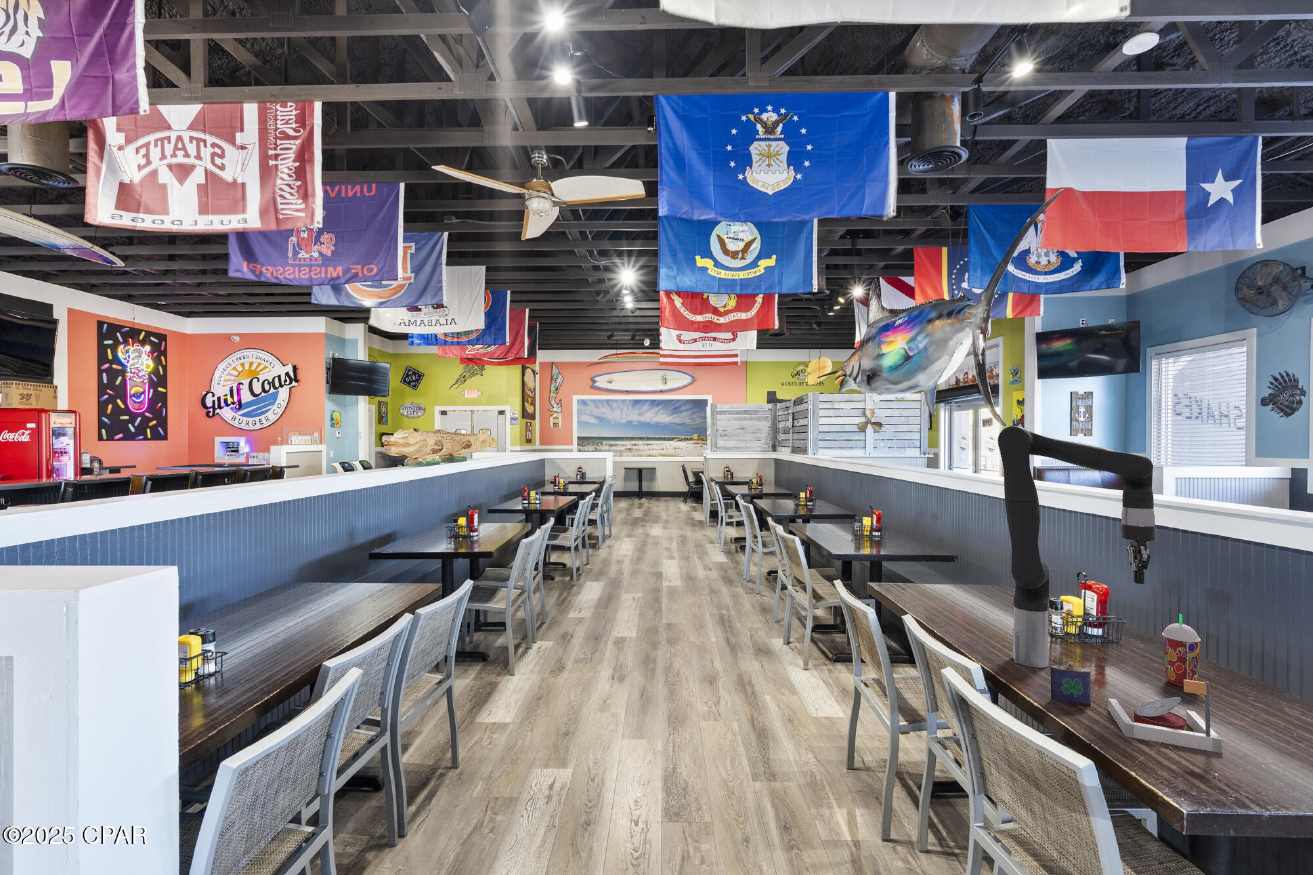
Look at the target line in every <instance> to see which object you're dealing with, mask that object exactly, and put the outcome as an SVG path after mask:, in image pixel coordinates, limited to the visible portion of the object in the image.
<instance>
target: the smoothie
mask: <svg viewBox="0 0 1313 875" xmlns="http://www.w3.org/2000/svg"><path fill="white" fill-rule="evenodd" d="M1178 618H1179V619H1178V622H1176V623H1171V624H1169V625H1167V626H1166V627H1165V629H1164V630H1163V632H1161V638H1162V645H1163V646H1162V648H1163V659H1164V668H1165V670H1164V671H1165V677H1166V678H1167V680H1168V682H1169V683H1171V684H1173V685H1175V686H1177V687H1182V688H1184V680H1191V681H1198V680H1199V679H1198V678H1199V668H1200V666H1199V665H1200V650H1201V638H1200V636H1199V635H1198V633H1197V631H1195V630H1194V628H1192V627H1190V626H1189V625H1187V624H1184V623H1183V614H1182V613H1179V614H1178Z"/></svg>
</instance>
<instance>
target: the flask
mask: <svg viewBox="0 0 1313 875" xmlns="http://www.w3.org/2000/svg"><path fill="white" fill-rule="evenodd" d="M1075 665H1076V664H1074V662H1073V661H1069V662H1068V664H1067V665H1065V666H1064V665H1059V664H1056V665H1051V666H1050V668H1049V669H1050V700H1051V701H1052V702H1055V703H1058V704H1060V703H1061V704H1064V705H1065V704H1066V705H1079V706H1091V705H1092V691H1091V690H1092V688H1091V685H1092V684H1091V683H1092V682H1091V671H1090V670H1089V669H1088V668H1078V667H1075Z"/></svg>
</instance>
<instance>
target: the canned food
mask: <svg viewBox="0 0 1313 875" xmlns="http://www.w3.org/2000/svg"><path fill="white" fill-rule="evenodd" d="M1181 702H1182V699H1181V697H1180V696H1178V697H1177V696H1173V697H1167V698H1163V699H1161V698H1160V699H1157V700H1153V701H1148V702H1145V703H1141V704H1140V705H1138V706H1136V707H1135V708H1133V722H1135V723H1141V724H1147V725H1153V726H1159V727H1166V728H1172V729H1178V730H1184V731H1188V724H1187V721H1186V718H1184V717H1182V715H1179V714H1176V713H1174V712H1172V710H1174V709H1175V707H1176V706H1177V705H1178V704H1179V703H1181Z"/></svg>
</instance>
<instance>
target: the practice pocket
mask: <svg viewBox="0 0 1313 875" xmlns="http://www.w3.org/2000/svg"><path fill="white" fill-rule="evenodd" d="M1210 685H1211V684H1210V681H1206V680H1205V681H1191V680H1184V687H1183V691H1184V693H1190V694H1197V695H1204V708H1205V711H1204V712H1205V713H1204V715H1205V716H1204V717H1205V718H1204V719H1205V720H1203V718H1202V717H1201V716H1199V714H1198V713H1197V712H1196V711H1194V710H1193V711H1192V710H1187V709H1185V716H1186V718H1185V720H1186V721H1187V726H1189V727H1190V728H1191V730H1192V731H1189V730H1187V731H1184V730H1178V729H1172V728H1166V727H1159V726H1153V725H1147V724H1141V723H1135V722H1134V721H1133V720H1131V719H1130V717H1129V716H1128V714H1127V713H1126V711H1125V710H1124V708H1123V707H1122V706H1121V704H1120V703H1119V702H1118V700H1117V699H1115V698H1110V697H1109V698H1108V699H1107V701H1108V702H1107V703H1108V704H1107V705H1108V706H1107V707H1108V708H1107V710H1108V712H1109V713H1110V715H1111V716H1112V718H1113V719H1114V720H1115V722H1116V724H1117V725H1118V727H1119V728H1120V730H1121V731H1122V732H1121V733H1123V735H1124V736H1125V737H1129V738H1134V739H1139V740H1144V741H1145V740H1146V741H1150V740H1151V741H1150V742H1155V743H1162V742H1163V743H1162V744H1168V745H1173V744H1174V745H1175V746H1179V747H1184V748H1191V749H1195V750H1202V751H1203V750H1204V751H1209V752H1213V753H1220V754H1222V753H1223V739H1222V738H1221V737H1220V735H1218V734H1217V733H1216V732H1215V730H1213V728H1211V686H1210Z"/></svg>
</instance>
